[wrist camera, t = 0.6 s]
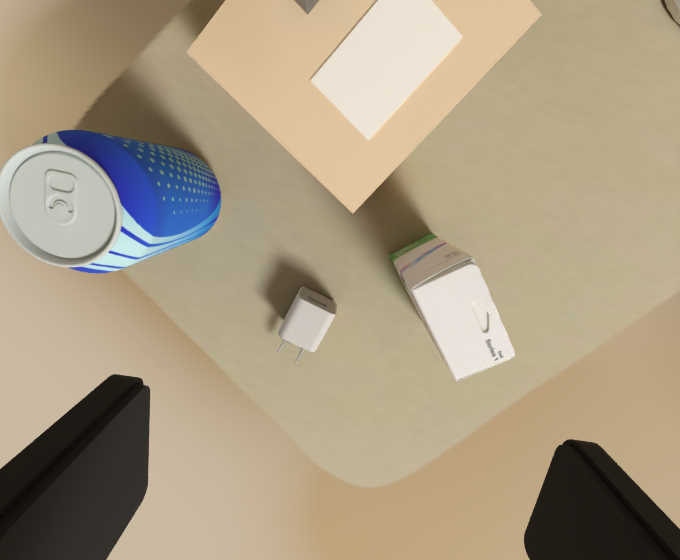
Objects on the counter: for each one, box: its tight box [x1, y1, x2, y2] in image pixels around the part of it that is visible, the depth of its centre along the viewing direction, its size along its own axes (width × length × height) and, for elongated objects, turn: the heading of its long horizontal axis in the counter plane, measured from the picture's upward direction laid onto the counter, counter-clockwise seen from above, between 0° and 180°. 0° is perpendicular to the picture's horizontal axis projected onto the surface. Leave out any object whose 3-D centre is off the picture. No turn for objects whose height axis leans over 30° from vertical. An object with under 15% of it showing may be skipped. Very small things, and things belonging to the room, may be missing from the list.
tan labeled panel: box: [187, 0, 541, 213], centre depth 20 cm, size 16×14×7 cm
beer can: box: [0, 130, 221, 273], centre depth 28 cm, size 8×8×16 cm
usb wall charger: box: [277, 286, 336, 363], centre depth 37 cm, size 4×7×4 cm, turn 152°
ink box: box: [390, 234, 515, 381], centre depth 32 cm, size 8×5×12 cm, turn 28°
